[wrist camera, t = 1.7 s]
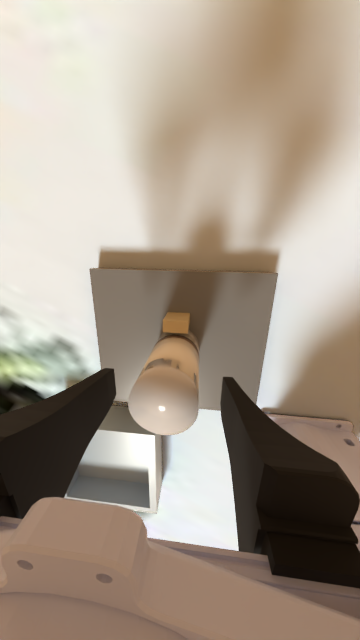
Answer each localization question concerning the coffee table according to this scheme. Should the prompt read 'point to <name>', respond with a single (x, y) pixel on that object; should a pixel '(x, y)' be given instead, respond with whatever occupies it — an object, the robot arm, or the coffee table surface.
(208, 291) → the flat gray square panel
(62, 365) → the coffee table surface
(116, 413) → the parts tray
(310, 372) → the coffee table surface
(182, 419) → the led light bulb
